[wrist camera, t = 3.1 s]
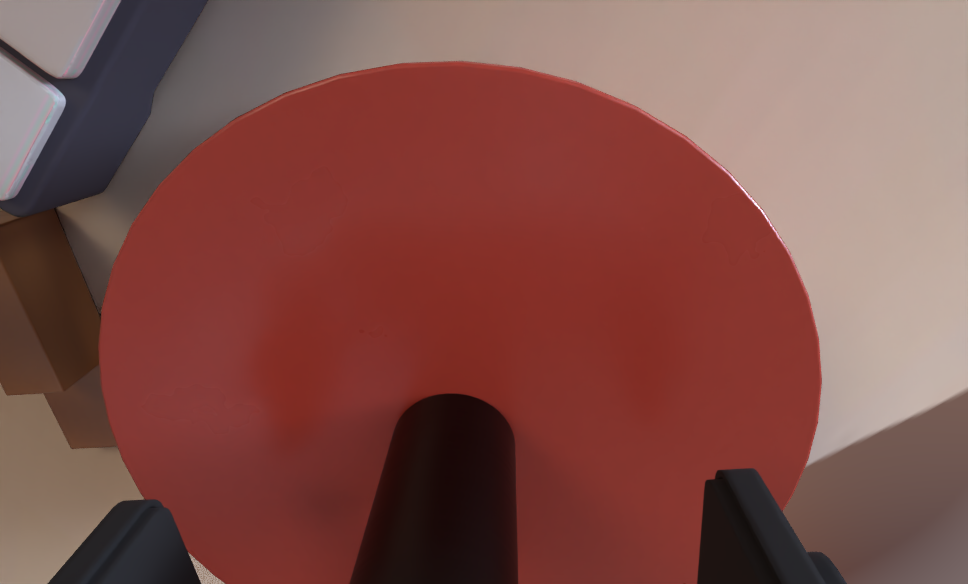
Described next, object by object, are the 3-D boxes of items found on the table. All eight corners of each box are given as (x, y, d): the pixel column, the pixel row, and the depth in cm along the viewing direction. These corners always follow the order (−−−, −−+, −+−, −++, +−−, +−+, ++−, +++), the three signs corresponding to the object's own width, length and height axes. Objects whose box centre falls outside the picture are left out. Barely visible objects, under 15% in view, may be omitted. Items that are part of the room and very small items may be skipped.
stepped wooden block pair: (-25, 212, 20) (-104, 237, 17) (75, 203, 19) (10, 227, 17) (83, 437, 24) (33, 484, 21) (168, 432, 23) (126, 479, 21)
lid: (17, 103, 10) (-474, 160, 5) (848, 15, 9) (1282, -22, 4) (238, 631, 16) (113, 902, 11) (757, 615, 15) (886, 908, 10)
